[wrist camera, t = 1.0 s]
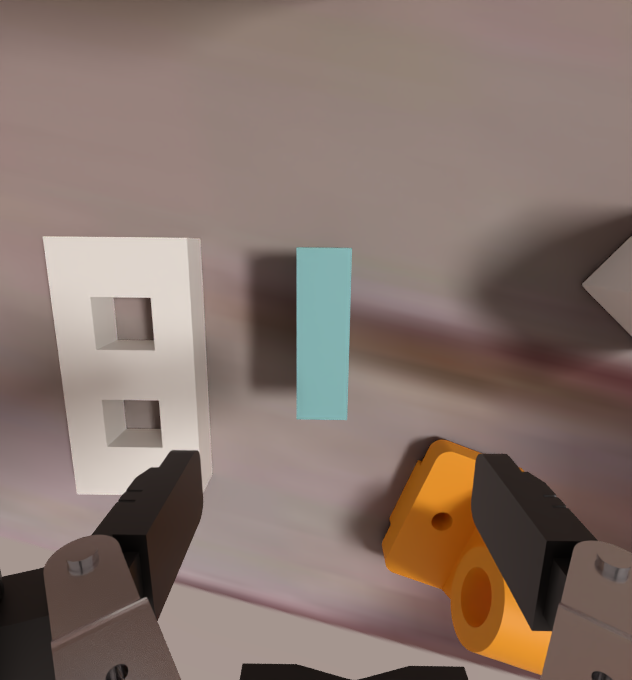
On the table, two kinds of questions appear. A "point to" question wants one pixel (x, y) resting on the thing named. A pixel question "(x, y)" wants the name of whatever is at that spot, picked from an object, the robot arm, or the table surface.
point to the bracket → (459, 558)
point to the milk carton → (615, 285)
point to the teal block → (323, 332)
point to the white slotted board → (129, 354)
